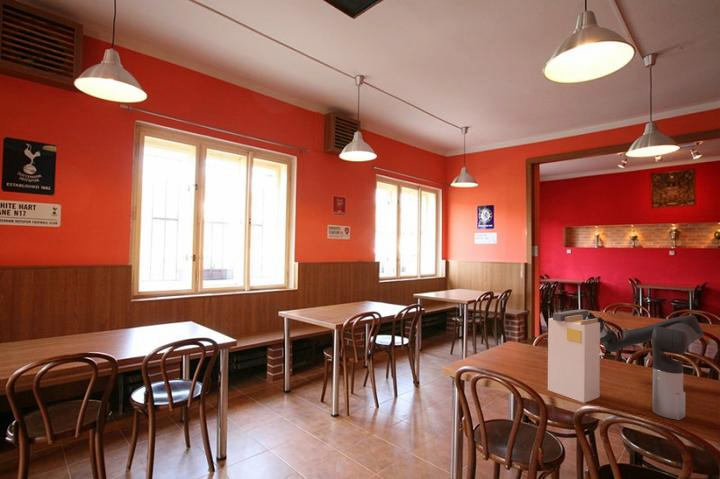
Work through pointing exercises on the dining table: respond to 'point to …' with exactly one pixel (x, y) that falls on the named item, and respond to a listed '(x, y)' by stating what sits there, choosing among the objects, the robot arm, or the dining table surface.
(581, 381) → the cream carton
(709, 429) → the dining table surface
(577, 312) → the dark gray bar
